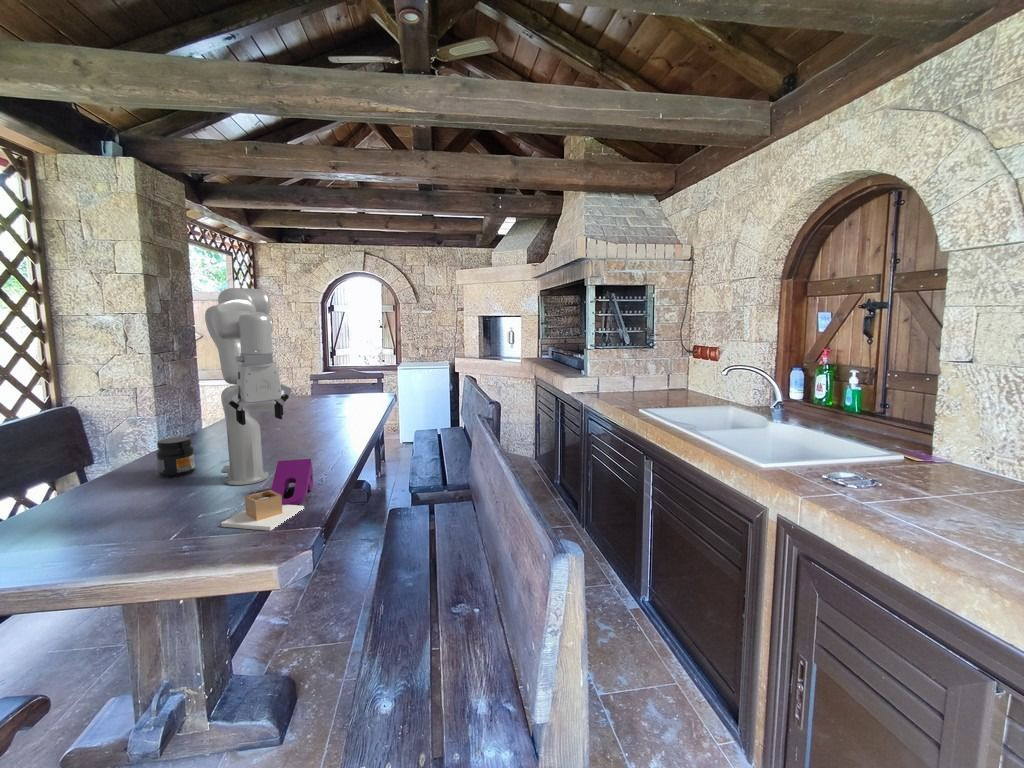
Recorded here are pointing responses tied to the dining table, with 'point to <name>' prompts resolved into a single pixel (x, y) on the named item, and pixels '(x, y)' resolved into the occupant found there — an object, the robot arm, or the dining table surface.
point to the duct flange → (264, 524)
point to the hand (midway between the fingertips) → (260, 421)
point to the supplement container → (175, 457)
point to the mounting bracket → (293, 479)
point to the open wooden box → (263, 505)
